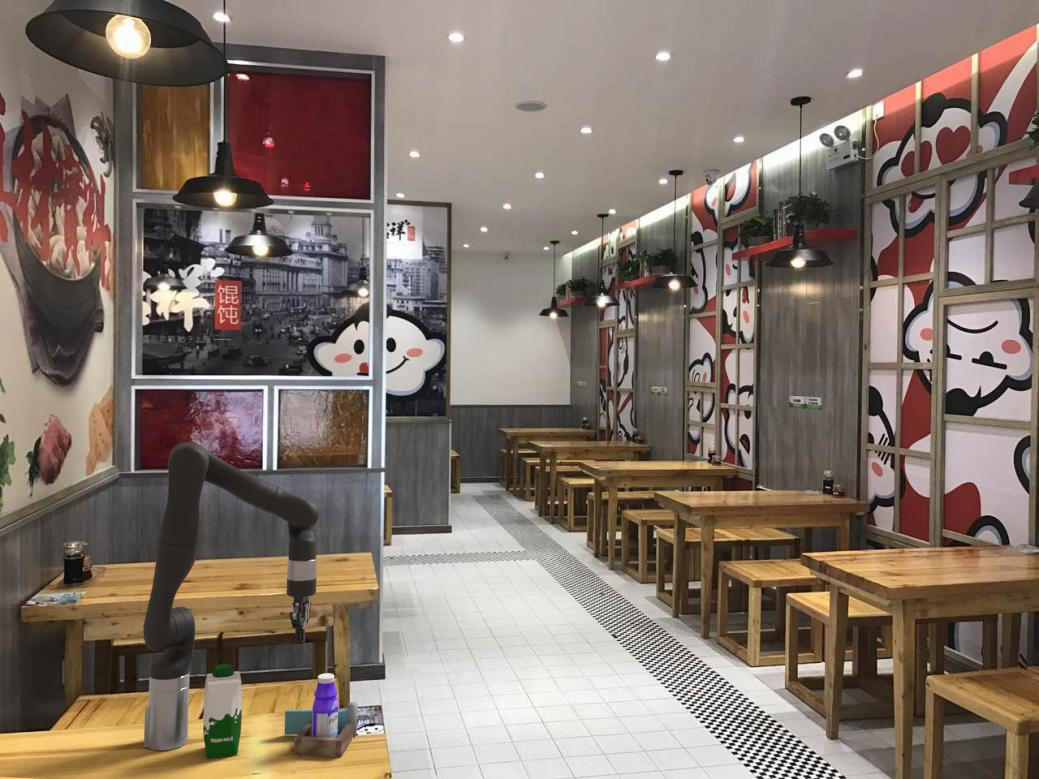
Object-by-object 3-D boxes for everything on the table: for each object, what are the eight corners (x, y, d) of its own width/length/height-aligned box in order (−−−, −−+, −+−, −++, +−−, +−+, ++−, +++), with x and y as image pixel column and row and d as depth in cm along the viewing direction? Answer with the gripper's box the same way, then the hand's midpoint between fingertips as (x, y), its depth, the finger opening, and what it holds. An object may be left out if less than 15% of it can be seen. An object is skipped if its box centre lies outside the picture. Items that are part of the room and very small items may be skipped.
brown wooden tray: (294, 755, 199) (295, 738, 199) (308, 736, 210) (309, 721, 210) (341, 757, 199) (341, 740, 199) (352, 738, 210) (353, 723, 210)
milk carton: (239, 741, 206) (241, 661, 207) (241, 756, 198) (243, 673, 198) (202, 746, 203) (204, 665, 203) (202, 761, 195) (204, 676, 195)
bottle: (329, 752, 201) (331, 681, 201) (307, 750, 202) (309, 679, 202) (341, 740, 208) (342, 671, 209) (320, 738, 209) (321, 670, 210)
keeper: (283, 736, 209) (284, 705, 209) (286, 733, 212) (286, 701, 212) (355, 737, 210) (356, 705, 210) (357, 733, 213) (358, 702, 213)
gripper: (309, 582, 207) (307, 651, 207) (322, 571, 220) (320, 636, 220) (280, 581, 207) (278, 650, 207) (294, 570, 220) (292, 635, 220)
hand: (299, 642), depth 214 cm, fingers closed
